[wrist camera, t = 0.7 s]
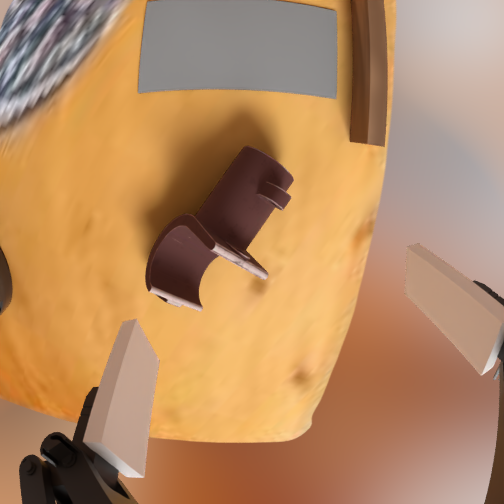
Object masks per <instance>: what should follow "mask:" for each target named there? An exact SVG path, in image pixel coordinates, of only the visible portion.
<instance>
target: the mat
mask: <svg viewBox="0 0 504 504" xmlns="http://www.w3.org/2000/svg"><path fill="white" fill-rule="evenodd" d="M195 89H235V90H258V91H273V92H285V93H294V94H303V95H311V96H319V97H325V98H332V99H336V93H337V12H336V11H333V10H329V9H324V8H320V7H315V6H309V5H304V4H298V3H291V2H284V1H276V0H157V1H149V2H147V7H146V14H145V21H144V29H143V38H142V47H141V58H140V70H139V86H138V93H146V92H157V91H172V90H195Z"/></svg>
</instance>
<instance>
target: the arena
mask: <svg viewBox="0 0 504 504" xmlns="http://www.w3.org/2000/svg"><path fill="white" fill-rule="evenodd" d="M351 8H352V31H353V93H352V118H351V135H350V142H355V143H362V144H369V145H376V146H383V147H385V134H386V117H387V37H386V22H385V10H384V0H351Z"/></svg>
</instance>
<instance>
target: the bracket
mask: <svg viewBox="0 0 504 504" xmlns="http://www.w3.org/2000/svg"><path fill="white" fill-rule="evenodd" d="M293 181H294V179H293V177H292V175H291V174H290V173H289V171H288V170H287V169H286V168H284V167H283V166H282V165H281V164H280V163H279V162H277V161H276V160H275V159H273V158H272V157H270V156H269V155H267V154H265V153H264V152H262V151H260V150H258V149H256V148H253V147H250V146H245V147H244V148H243V149H242V150H241V152H240V153H239V155H238V156H237V157H236V159H235V160H234V161H233V163H232V164H231V166H230V167H229V168H228V170H227V171H226V172H225V174H224V175H223V177H222V178H221V179H220V181H219V182H218V184H217V185H216V187H215V188H214V189H213V191H212V192H211V194H210V195H209V197H208V198H207V200H206V201H205V202H204V204H203V205H202V207H201V208H200V210H199V211H198V213H197V214H196V216H193V215H191V214H183V215H180V216H178V217H177V218H175V219H174V220H172V221H171V222H170V223H169V224H168V225H167V226H166V227H165V229H164V230H163V231H162V233H161V234H160V236H159V237H158V239H157V240H156V242H155V244H154V246H153V248H152V251H151V253H150V256H149V259H148V262H147V267H146V275H145V280H146V286H147V289H148V291H149V292H151V293H154V294H155V295H157V296H158V297H159V298H161V299H162V300H163V301H165V302H167V303H169V304H172V305H175V306H177V307H181V306H182V305H184V306H187V307H190V308H192V309H195V310H198V311H202V309H203V306H202V305H201V303H200V300H199V285H200V281H201V278H202V276H203V274H204V272H205V270H206V268H207V267H208V265H209V264H210V263H211V262H212V261H213V260H214V259H215V258H217V257H218V256H221V257H223V258H225V259H227V260H228V261H230V262H232V263H234V264H236V265H237V266H239V267H241V268H243V269H245V270H247V271H248V272H250V273H252V274H254V275H256V276H258V277H259V278H261V279H263V280H265V279H266V278H267V277H268V272H267V271H266V270H265V269H264V268H263V267H262V266H261V265H260V264H259V263H258V262H257V261H256V260H255V259H254V258H253V257H252V256H251V255H250V254H249V253H248V252H247V251H246V249H247V247H248V246H249V245H250V243H251V242H252V240H253V239H254V237H255V236H256V234H257V233H258V231H259V230H260V229H261V227H262V226H263V224H264V223H265V221H266V220H267V218H268V217H269V216H270V214H271V213H272V211H273V210H274V208H275V207H276V208H278V209H280V210H283V209H284V208H285V206H286V205H287V204H288V202H289V201H290V199H291V196H290V195H289V194H288V193H287V192H286V191H287V190H288V188H289V187H290V185H291V184H292V182H293Z"/></svg>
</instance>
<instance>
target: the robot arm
mask: <svg viewBox="0 0 504 504" xmlns="http://www.w3.org/2000/svg"><path fill="white" fill-rule="evenodd" d="M406 250H407V251H406V279H405V295H406V296H407V297H409V299H410V300H411V301H412V302H413V303H414V304H415V305H416V306H417V307H418V308H419V309H420V310H421V311H423V313H424V314H425V315H426V316H427V317H428V318H429V319H430V320H431V321H432V322H433V323H434V324H435V325H436V326H437V327H438V328H439V329H440V331H441V332H443V334H444V335H445V336H446V337H447V338H448V339H449V340H450V341H451V342H452V343H453V344H454V346H455V347H456V348H457V349H458V350H459V351H460V352H461V353H462V354H463V356H464V357H465V358H466V359H467V360H468V361H469V363H470V364H471V365H472V366H473V367H474V368H475V369H476V370H477V372H478V373H479V374H480V375H483V374H484V373H486V372H487V371H488V370H490V369H491V368H493V366H494V364H495V361H496V359H497V357H498V358H499V359H500V360H501V363H500V365H499V367H498V369H497V371H496V373H495V375H494V380H496V378H497V376H498V374H499V376H500V377H499V380H500V396H499V420H498V431H497V441H496V449H495V456H494V462H493V468H492V473H491V478H490V483H489V487H488V492H487V495H486V500H485V503H484V504H504V299H503V298H501V297H499V296H498V294H496V293H495V292H493V291H492V290H491V289H490V288H489V287H487V286H486V285H485V284H482V283H480V282H478V281H473V282H472V281H471V280H470V279H469V278H467V277H466V276H464V275H463V274H462V273H460V272H459V271H458V270H456V269H455V268H454V267H452V266H451V265H449V264H448V263H447V262H445V261H444V260H442V259H441V258H439V257H438V256H437V255H435V254H434V253H432V252H430V251H429V250H428V249H426V248H425V247H423V246H422V245H420V244H419V243H417V244H414V245H411V246H408V247H407V249H406ZM11 298H12V281H11V275H10V271H9V268H8V265H7V262H6V259H5V257H4V255H3V253H2V251H1V249H0V315H1V314H2V313H3V312H4V311H5V310H6V308H7V307H8V306H9V304H10V302H11ZM159 362H160V360H159V359H158V357H157V355H156V354H155V352H154V350H153V348H152V346H151V345H150V343H149V341H148V339H147V337H146V336H145V334H144V332H143V330H142V328H141V326H140V324H139V322H138V320H137V319H133V320H128V321H124V322H122V325H121V327H120V330H119V332H118V335H117V338H116V340H115V343H114V346H113V348H112V351H111V354H110V356H109V359H108V362H107V365H106V368H105V370H104V373H103V376H102V379H101V382H100V385H99V387H93V388H92V389H91V391H90V392H89V393H88V395H87V396H86V399H85V402H84V405H83V408H82V411H81V414H80V415H81V416H80V417H79V420H78V423H77V427H76V430H75V433H74V437H73V440H72V441H71V440H69V439H68V438H67V437H66V436H65V435H64V434H62V433H60V432H54V433H52V434H49V435H48V436H47V437H46V438H45V439H44V441H43V442H42V445H41V448H40V452H41V456H42V457H44V458H45V459H46V460H47V461H42V460H41V459H40V458H39V457H37V456H35V455H28V456H26V457H25V458H24V459H23V461H22V462H21V464H20V468H19V475H20V487H21V496H22V504H56V503H55V501H56V502H57V504H138V503H137V501H136V500H135V499H134V497H133V496H132V495H131V494H130V492H129V491H128V489H127V488H126V487H125V485H124V484H123V483H122V481H120V479H119V478H118V472H121V473H122V474H123V475H125V476H126V477H137V478H144V476H145V464H146V454H147V445H148V437H149V429H150V421H151V413H152V406H153V399H154V393H155V386H156V380H157V374H158V368H159Z"/></svg>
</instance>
